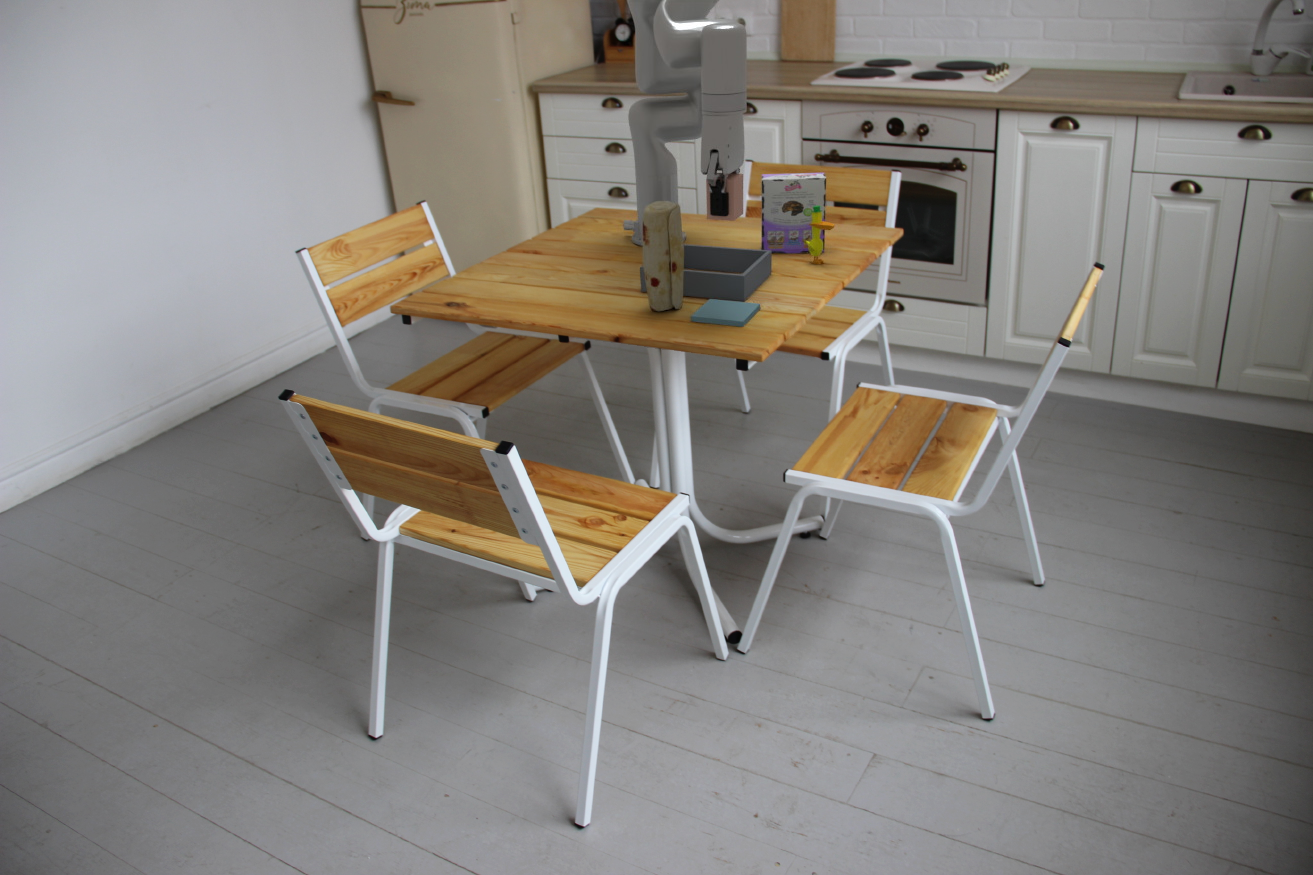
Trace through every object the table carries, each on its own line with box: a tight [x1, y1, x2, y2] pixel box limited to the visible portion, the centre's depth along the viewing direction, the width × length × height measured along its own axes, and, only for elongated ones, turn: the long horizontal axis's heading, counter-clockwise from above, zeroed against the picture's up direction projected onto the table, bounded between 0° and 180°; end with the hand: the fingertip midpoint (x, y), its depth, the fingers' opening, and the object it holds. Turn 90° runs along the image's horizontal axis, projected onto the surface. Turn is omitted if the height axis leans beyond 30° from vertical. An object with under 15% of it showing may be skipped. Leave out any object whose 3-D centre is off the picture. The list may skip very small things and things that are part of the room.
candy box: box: [760, 172, 827, 254], centre depth 211 cm, size 14×6×16 cm, turn 84°
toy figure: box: [806, 206, 836, 265], centre depth 203 cm, size 7×4×12 cm, turn 49°
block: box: [705, 172, 744, 222], centre depth 169 cm, size 5×5×7 cm
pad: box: [690, 298, 761, 328], centre depth 179 cm, size 10×10×1 cm
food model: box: [642, 201, 685, 312], centre depth 180 cm, size 10×7×20 cm
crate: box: [639, 243, 773, 302], centre depth 196 cm, size 22×18×5 cm
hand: (725, 210), depth 171 cm, fingers closed on block, 4 cm apart
